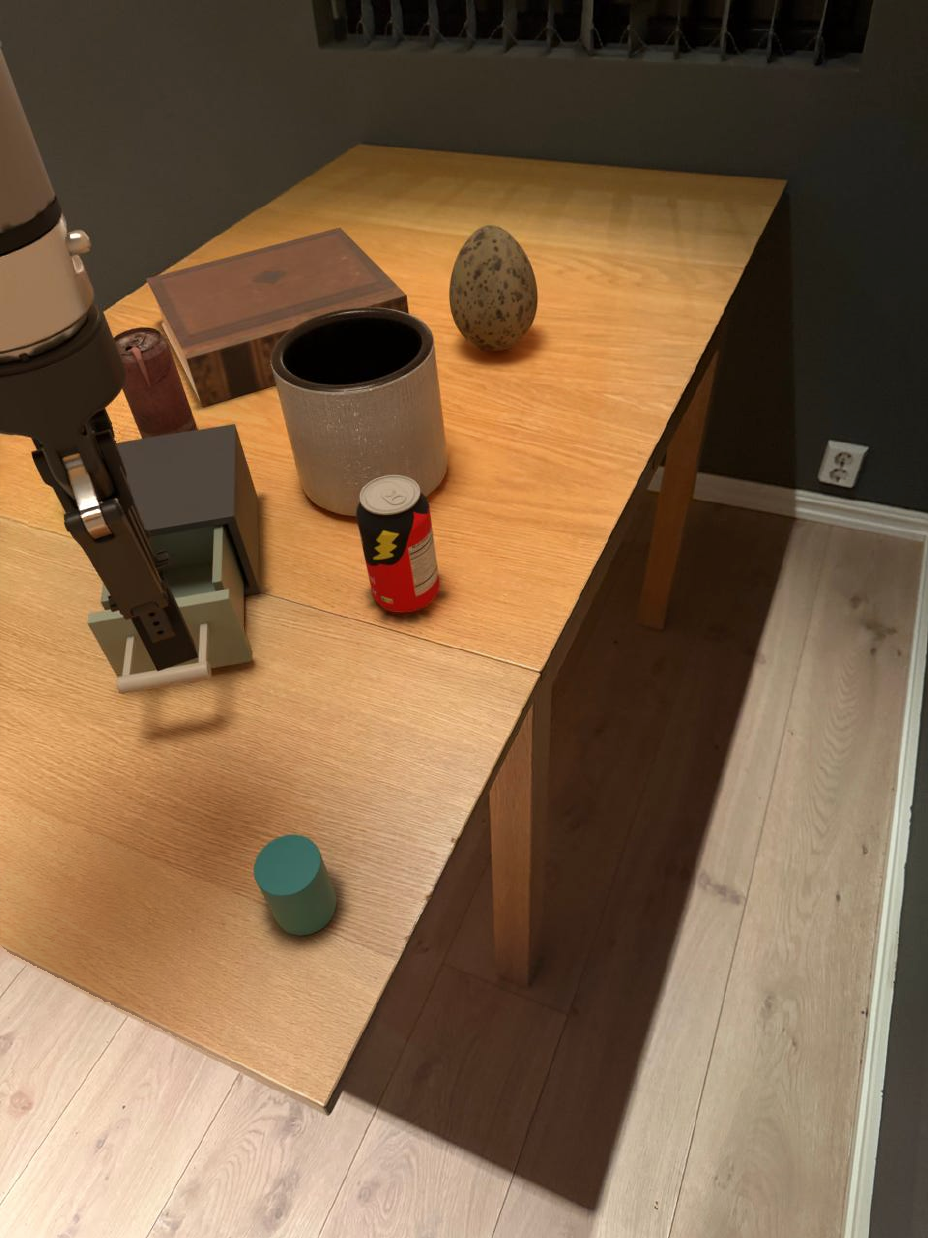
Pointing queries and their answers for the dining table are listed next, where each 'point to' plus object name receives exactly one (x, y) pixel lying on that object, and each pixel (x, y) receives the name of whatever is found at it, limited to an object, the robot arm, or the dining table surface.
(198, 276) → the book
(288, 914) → the teal cylinder
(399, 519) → the beverage can
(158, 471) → the cabinet
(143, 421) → the can
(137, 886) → the dining table surface
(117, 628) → the drawer
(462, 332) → the decorative egg
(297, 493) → the dining table surface
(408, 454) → the planter
